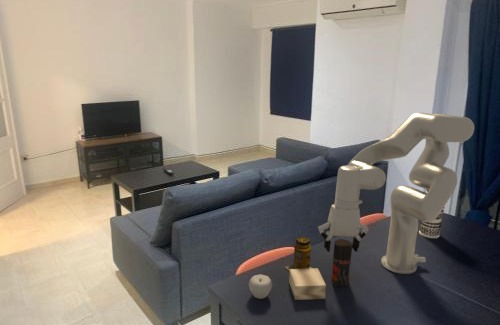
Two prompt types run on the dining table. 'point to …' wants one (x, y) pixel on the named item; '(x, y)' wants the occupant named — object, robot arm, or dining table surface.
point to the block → (307, 284)
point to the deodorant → (341, 262)
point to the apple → (260, 286)
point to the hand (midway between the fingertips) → (341, 249)
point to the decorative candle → (431, 226)
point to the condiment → (301, 254)
